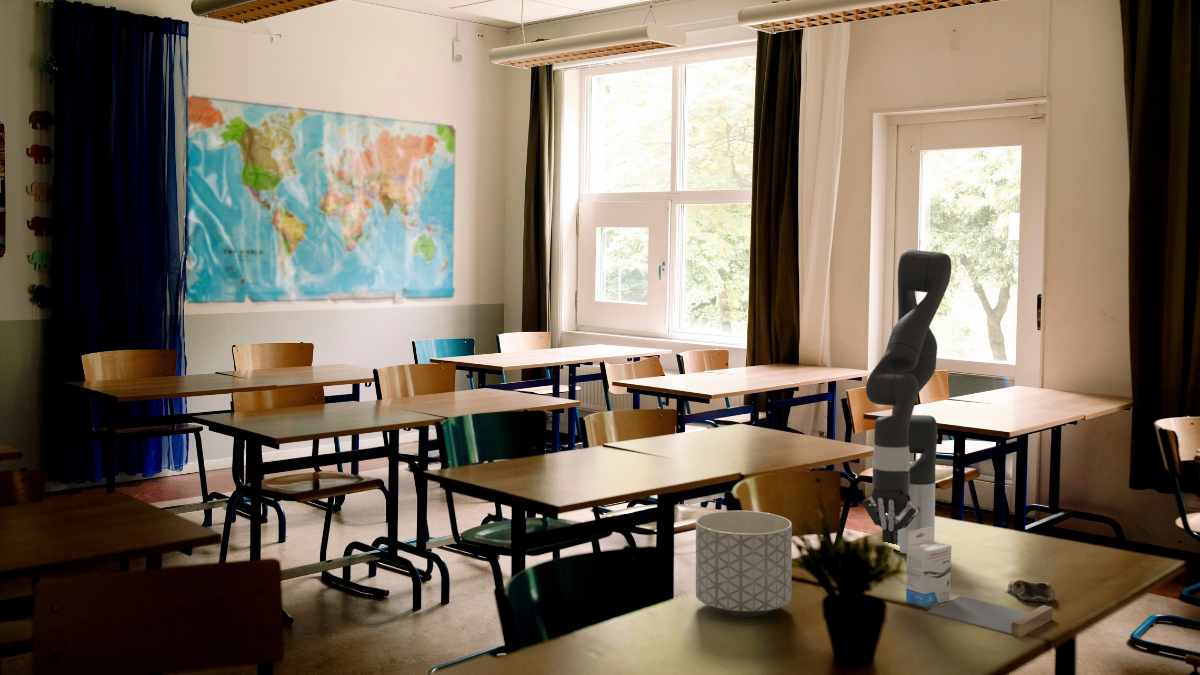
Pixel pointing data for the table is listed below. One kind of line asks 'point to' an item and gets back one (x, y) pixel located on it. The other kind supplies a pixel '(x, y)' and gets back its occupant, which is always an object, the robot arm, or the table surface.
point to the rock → (1032, 590)
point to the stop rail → (1031, 621)
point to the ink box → (927, 569)
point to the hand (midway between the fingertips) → (890, 546)
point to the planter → (743, 562)
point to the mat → (979, 613)
